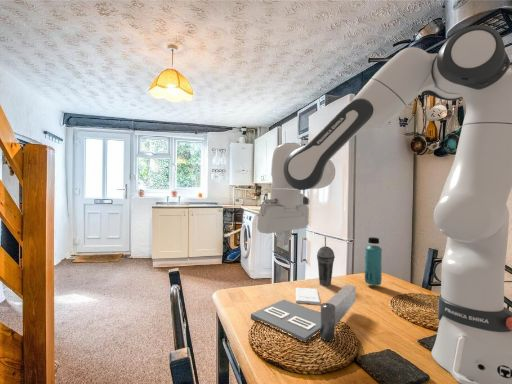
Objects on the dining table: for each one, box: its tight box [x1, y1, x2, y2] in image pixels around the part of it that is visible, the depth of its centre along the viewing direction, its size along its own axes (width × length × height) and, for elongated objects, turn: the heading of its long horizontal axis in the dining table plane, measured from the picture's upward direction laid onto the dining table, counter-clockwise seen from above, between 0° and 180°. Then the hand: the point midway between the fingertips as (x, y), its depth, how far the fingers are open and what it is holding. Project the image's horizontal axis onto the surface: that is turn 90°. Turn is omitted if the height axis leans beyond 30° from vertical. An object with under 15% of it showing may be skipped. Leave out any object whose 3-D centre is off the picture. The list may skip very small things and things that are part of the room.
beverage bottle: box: [364, 236, 383, 286], centre depth 112 cm, size 6×7×20 cm
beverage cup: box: [316, 235, 336, 287], centre depth 114 cm, size 7×7×20 cm
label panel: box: [250, 299, 321, 343], centre depth 81 cm, size 19×16×2 cm
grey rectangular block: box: [319, 284, 357, 341], centre depth 79 cm, size 23×4×8 cm, turn 146°
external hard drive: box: [295, 287, 321, 306], centre depth 100 cm, size 2×8×12 cm
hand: (283, 245), depth 81 cm, fingers closed
